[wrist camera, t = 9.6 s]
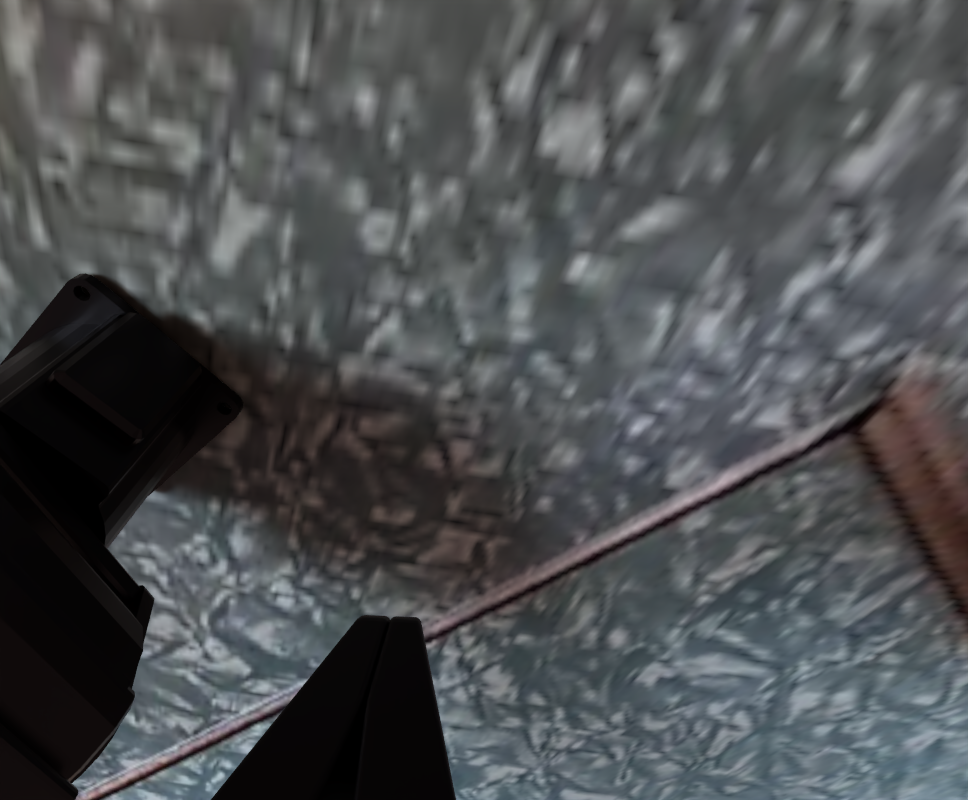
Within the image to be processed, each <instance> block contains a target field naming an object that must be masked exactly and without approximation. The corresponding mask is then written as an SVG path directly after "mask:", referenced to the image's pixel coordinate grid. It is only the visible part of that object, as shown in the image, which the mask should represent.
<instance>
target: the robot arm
mask: <svg viewBox="0 0 968 800" xmlns="http://www.w3.org/2000/svg"><path fill="white" fill-rule="evenodd" d="M81 286H83V287H85V288H86V289H87V290H88V291H89V293H90V296H89V295H87V294H85V293H84V292H83V290H82V288H81ZM222 402H225V403H227V404H229V406H230V407H231V409H230V408H226V407H224V405H223V404H222ZM242 408H243V402H242V400H241V398H240V397H239V396H238V395H237V394H236V393H235V392H234V391H232V390H231V389H230V388H229V387H228V386H226V385H225V384H224V383H223V382H222V381H220V380H219V379H218V378H217V377H216V376H214V375H213V374H212V373H211V372H210V371H208V370H207V369H206V368H205V367H203V366H202V365H201V364H200V363H199V362H197V361H196V360H195V359H194V358H193V357H191V356H190V355H189V354H188V353H187V352H185V351H184V350H183V349H182V348H180V347H179V346H178V345H177V344H176V343H174V342H173V341H172V340H171V339H170V338H168V337H167V336H166V335H165V334H164V333H162V332H161V331H160V330H159V329H157V328H156V327H155V326H154V325H153V324H151V323H150V322H149V321H148V320H147V319H145V318H144V317H143V316H142V315H141V314H139V313H138V312H137V311H136V310H135V309H133V308H132V307H131V306H130V305H128V304H127V303H126V302H125V301H124V300H122V299H121V298H120V297H119V296H118V295H116V294H115V293H114V292H113V291H112V290H110V289H109V288H108V287H107V286H105V285H104V284H103V283H102V282H101V281H99V280H98V279H97V278H95V277H94V276H92V275H89V274H79V275H77V276H76V277H74V278H72V279H71V280H69V281H68V282H67V283H66V284H65V286H64V287H63V288H62V289H61V290H60V292H59V293H58V294H57V295H56V297H55V298H54V299H53V300H52V302H51V303H50V304H49V305H48V306H47V308H46V309H45V310H44V311H43V313H42V314H41V315H40V316H39V318H38V319H37V320H36V321H35V322H34V324H33V325H32V326H31V327H30V329H29V330H28V331H27V332H26V334H25V335H24V336H23V337H22V338H21V340H20V341H19V342H18V343H17V345H16V346H15V347H14V348H13V350H12V351H11V352H10V353H9V354H8V356H7V357H6V358H5V359H4V361H3V362H2V363H1V364H0V800H75V799H76V797H77V795H78V789H77V788H76V787H75V786H74V785H72V784H71V783H73V782H74V781H75V780H76V779H77V778H78V777H80V776H81V775H82V774H83V773H84V772H85V771H86V769H87V768H88V767H89V766H90V765H91V764H92V763H93V762H94V761H95V760H96V759H97V758H98V757H99V755H100V754H101V753H102V751H103V750H104V749H105V747H106V746H107V745H108V743H109V742H110V741H111V739H112V738H113V736H114V734H115V733H116V731H117V729H118V727H119V726H120V724H121V722H122V721H123V719H124V718H125V716H126V715H127V713H128V712H129V710H130V709H131V706H132V703H133V700H134V698H135V692H134V691H133V690H132V686H133V682H134V678H135V674H136V670H137V666H138V663H139V660H140V657H141V655H142V652H143V643H144V639H145V635H146V631H147V627H148V623H149V619H150V615H151V611H152V607H153V603H154V597H153V596H152V595H151V594H150V593H149V592H148V590H147V589H146V588H145V587H144V586H143V585H142V586H139V585H138V584H137V583H136V582H135V581H134V580H133V578H132V577H131V576H130V575H129V574H128V573H127V571H126V570H125V569H124V568H123V567H122V565H121V564H120V563H119V562H118V561H117V560H116V558H115V557H114V556H113V555H112V554H111V553H110V551H109V550H108V549H107V548H108V547H109V546H110V545H111V543H112V542H113V541H114V539H115V538H116V537H117V535H118V534H119V533H120V531H121V530H122V529H123V528H124V526H125V525H126V524H127V522H128V521H129V520H130V518H131V517H132V516H133V515H134V513H135V512H136V511H137V509H138V508H139V507H140V505H141V504H142V503H143V502H144V500H145V499H146V498H147V496H149V495H150V494H151V493H152V492H153V491H154V490H155V489H157V488H158V487H159V486H160V485H161V484H162V483H163V482H164V481H166V480H167V479H168V478H169V477H170V476H171V475H172V474H173V473H175V472H176V471H177V470H178V469H179V468H180V467H181V466H182V465H184V464H185V463H186V462H187V461H188V460H189V459H190V458H191V457H193V456H194V455H195V454H196V453H197V452H198V451H199V450H200V449H202V448H203V447H204V446H205V445H206V444H207V443H208V442H209V441H211V440H212V439H213V438H214V437H215V436H216V435H217V434H218V433H220V432H221V431H222V430H223V429H224V428H225V427H226V426H227V425H229V424H230V423H231V422H232V421H233V420H234V419H235V418H236V417H237V416H238V414H239V413H240V411H241V410H242ZM211 800H456V797H455V792H454V787H453V782H452V777H451V772H450V767H449V762H448V756H447V751H446V746H445V741H444V736H443V731H442V726H441V721H440V716H439V711H438V706H437V700H436V695H435V690H434V685H433V680H432V675H431V670H430V665H429V660H428V655H427V650H426V644H425V639H424V634H423V629H422V624H421V621H420V619H419V618H416V617H397V616H396V617H393V618H392V619H391V620H390V619H389V618H388V617H387V616H374V615H363V616H361V617H359V618H358V619H357V620H356V621H355V622H354V624H353V625H352V626H351V627H350V629H349V630H348V631H347V632H346V634H345V635H344V636H343V637H342V638H341V640H340V641H339V642H338V643H337V645H336V646H335V647H334V648H333V650H332V651H331V652H330V653H329V655H328V656H327V657H326V658H325V659H324V661H323V662H322V663H321V664H320V666H319V667H318V668H317V669H316V671H315V672H314V673H313V674H312V676H311V677H310V678H309V679H308V680H307V682H306V683H305V684H304V685H303V687H302V688H301V689H300V690H299V692H298V693H297V694H296V695H295V697H294V698H293V699H292V700H291V701H290V703H289V704H288V705H287V706H286V708H285V709H284V710H283V711H282V713H281V714H280V715H279V716H278V718H277V719H276V720H275V721H274V722H273V724H272V725H271V726H270V727H269V729H268V730H267V731H266V732H265V734H264V735H263V736H262V737H261V739H260V740H259V741H258V742H257V743H256V745H255V746H254V747H253V748H252V750H251V751H250V752H249V753H248V755H247V756H246V757H245V758H244V760H243V761H242V762H241V763H240V764H239V766H238V767H237V768H236V769H235V771H234V772H233V773H232V774H231V776H230V777H229V778H228V779H227V781H226V782H225V783H224V784H223V785H222V787H221V788H220V789H219V790H218V792H217V793H216V794H215V795H214V797H213V798H212V799H211Z"/></svg>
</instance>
